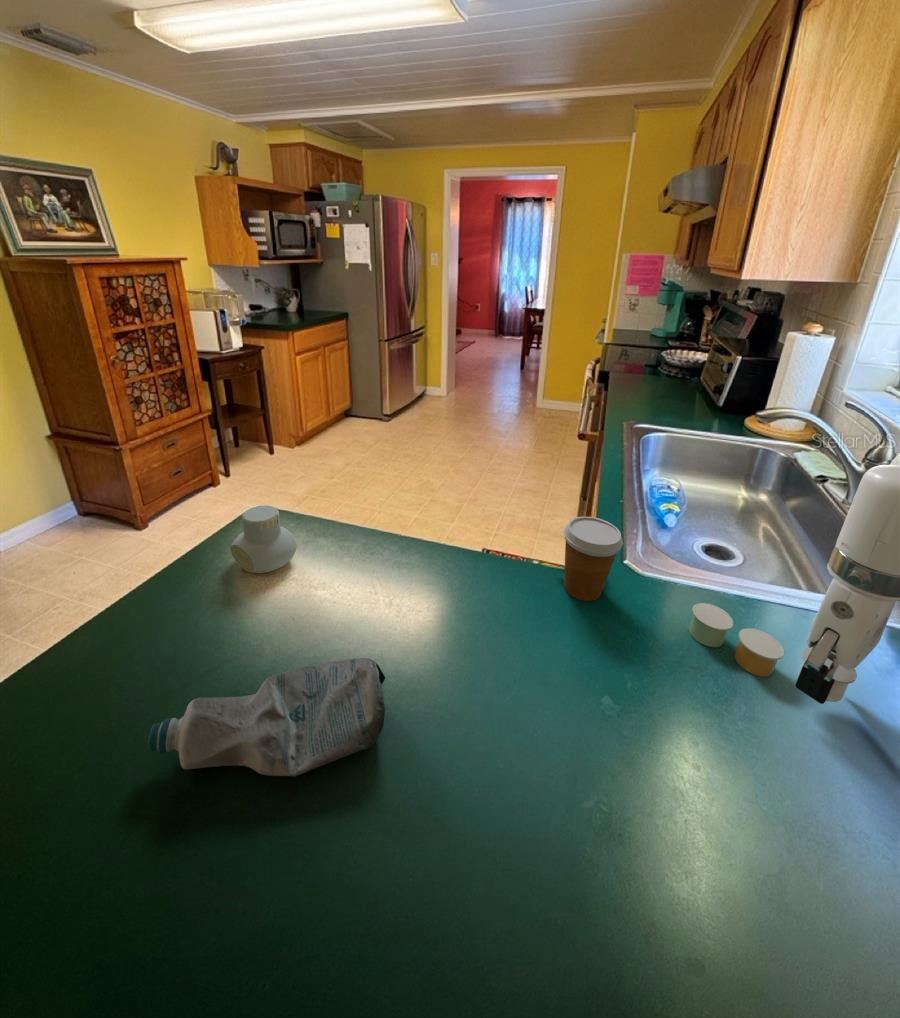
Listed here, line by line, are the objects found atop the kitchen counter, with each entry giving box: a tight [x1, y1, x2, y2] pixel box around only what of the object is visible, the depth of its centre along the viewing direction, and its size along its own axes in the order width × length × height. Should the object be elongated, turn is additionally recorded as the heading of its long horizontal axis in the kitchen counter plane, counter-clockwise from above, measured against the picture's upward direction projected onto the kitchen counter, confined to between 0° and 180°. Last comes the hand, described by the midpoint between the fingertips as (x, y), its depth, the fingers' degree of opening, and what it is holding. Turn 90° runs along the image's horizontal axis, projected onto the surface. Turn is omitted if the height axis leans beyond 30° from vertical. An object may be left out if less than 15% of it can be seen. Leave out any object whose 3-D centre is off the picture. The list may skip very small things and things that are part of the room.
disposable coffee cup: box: [563, 516, 624, 602], centre depth 80 cm, size 10×10×12 cm
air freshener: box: [230, 504, 298, 574], centre depth 82 cm, size 11×8×10 cm
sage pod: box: [688, 602, 734, 648], centre depth 73 cm, size 6×6×4 cm
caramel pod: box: [734, 627, 785, 678], centre depth 68 cm, size 6×6×4 cm
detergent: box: [147, 657, 386, 777], centre depth 53 cm, size 13×7×25 cm
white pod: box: [797, 646, 858, 703], centre depth 61 cm, size 6×6×4 cm
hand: (820, 682), depth 61 cm, fingers closed on white pod, 5 cm apart
